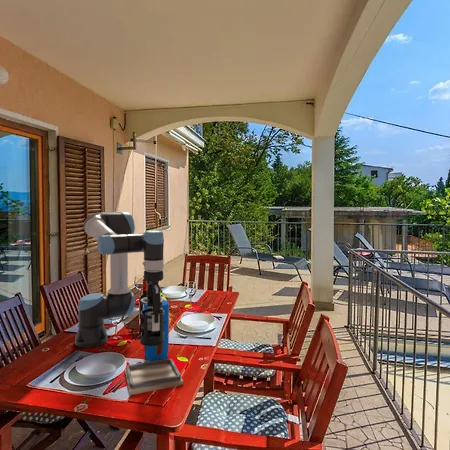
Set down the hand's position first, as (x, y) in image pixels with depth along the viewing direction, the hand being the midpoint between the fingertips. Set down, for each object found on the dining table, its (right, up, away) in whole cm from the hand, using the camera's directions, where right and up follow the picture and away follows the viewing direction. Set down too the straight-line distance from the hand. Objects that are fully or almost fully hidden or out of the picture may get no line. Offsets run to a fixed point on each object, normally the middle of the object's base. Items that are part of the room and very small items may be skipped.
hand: (153, 326), depth 132 cm
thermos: (-3, -20, +20) cm, 29 cm away
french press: (0, -6, +1) cm, 6 cm away
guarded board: (-1, -21, +2) cm, 21 cm away
